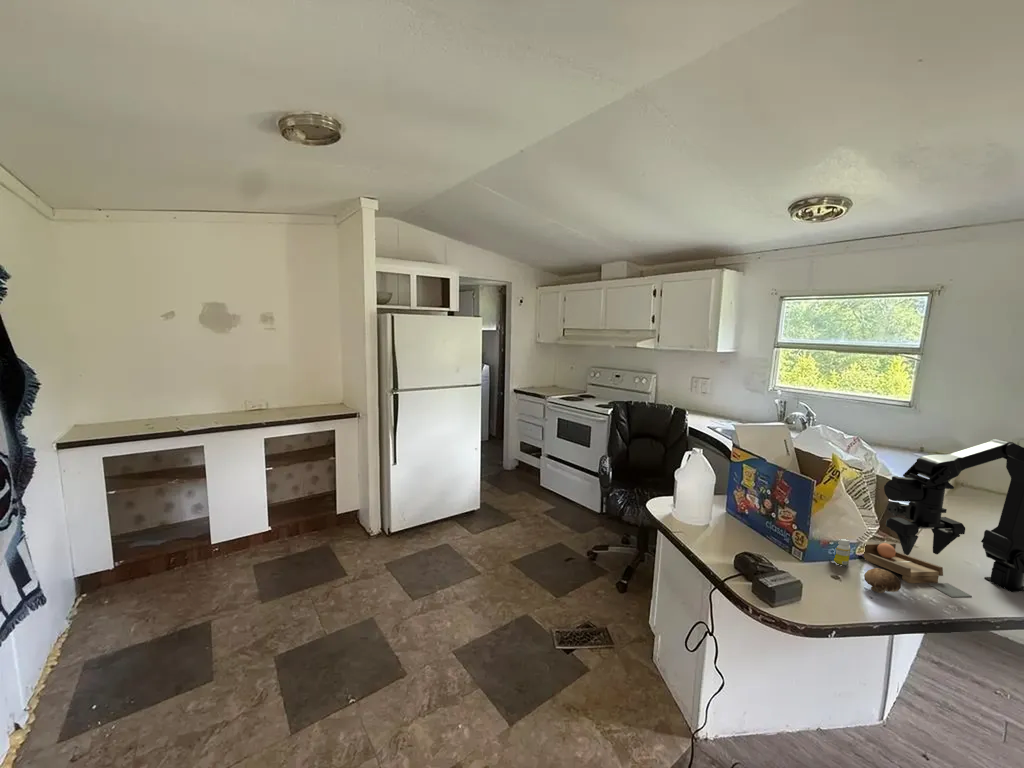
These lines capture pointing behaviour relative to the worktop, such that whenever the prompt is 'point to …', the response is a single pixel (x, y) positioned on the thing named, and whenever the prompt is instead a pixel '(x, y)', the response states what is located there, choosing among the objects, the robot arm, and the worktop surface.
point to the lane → (904, 565)
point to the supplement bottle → (842, 552)
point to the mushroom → (882, 580)
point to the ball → (886, 550)
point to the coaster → (949, 590)
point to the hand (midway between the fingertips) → (920, 554)
